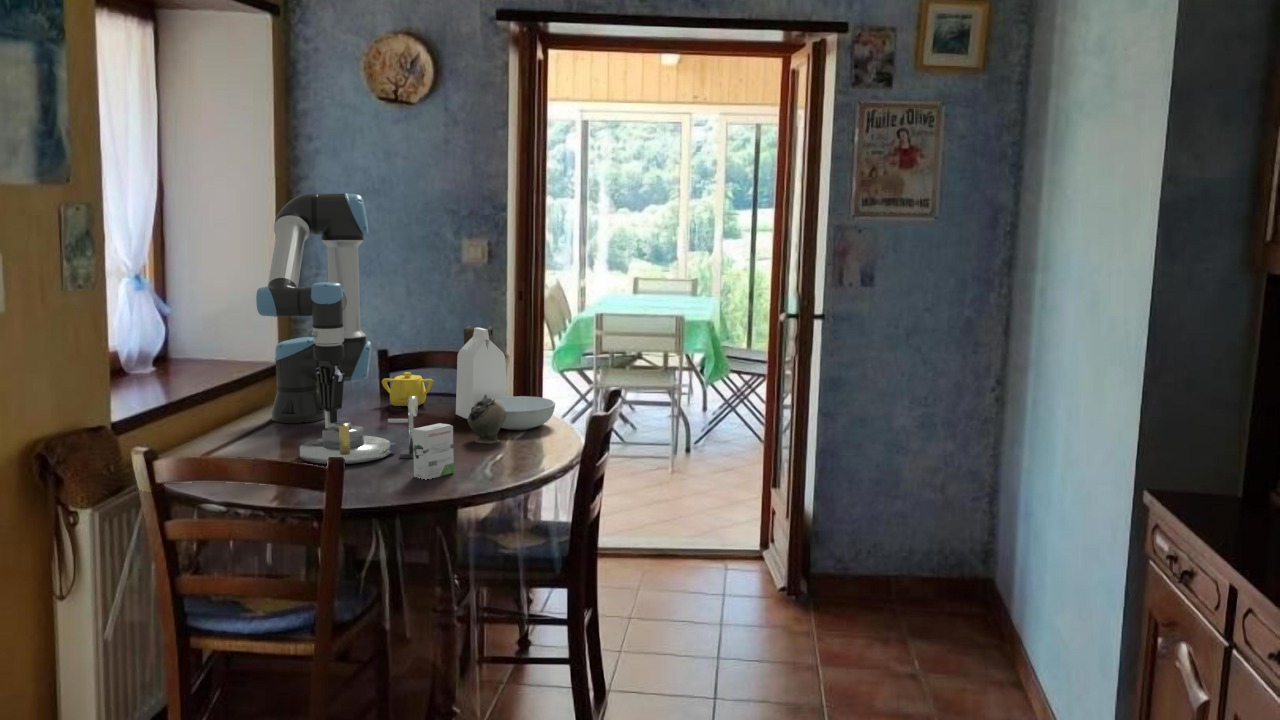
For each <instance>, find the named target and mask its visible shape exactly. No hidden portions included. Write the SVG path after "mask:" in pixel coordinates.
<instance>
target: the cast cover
mask: <svg viewBox="0 0 1280 720" xmlns="http://www.w3.org/2000/svg"><path fill="white" fill-rule="evenodd" d="M345 424H346V425H349V434H350V449H354V448H358V447H361V446H363V445H364V436H365V434H364V431H365V429H364V427H363V426H360V425H352V422H349V421H340V422H339V421H338V423H335V426H332V427H327V428H323V429H321V434H322V437H321V438H323V447H324V448H326V449H333V450H340V442H339V425H345Z"/></svg>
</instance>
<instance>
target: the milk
mask: <svg viewBox="0 0 1280 720" xmlns="http://www.w3.org/2000/svg"><path fill="white" fill-rule="evenodd" d="M473 328H474V333H473V337H472V338H471V339H470V340H469V341H468V342H467V343H466V344H465V345H464V344H463V346H462V347H461V348H460V349H459V351H458V353H457V356H456V358H457V360H456V364H457V365H456V369H457V370H456V393H455V394H456V396H455V397H456V398H455V399H456V400H455V415H457V416H459V417H461V418H463V419H466V420H467V419H468V417H469V415H470V413H471V408H472V407H474V406H475V404H476V403H477V402H478V401H481V400H482V399H483V398H484V396H485V394H486V396H487V398H492V399H495V398H502V397H509V395H508V381H507V379H508V378H507V365H506V363H507V361H506V356H505V353H504V352H503V351H502V350H501V349H500V348H499V347H498V346H497V345H496V344H495V342H494V343H492V342H491V341H490V340H489V335H488V330H487V329H483V328H484V327H482V328H477V327H473Z"/></svg>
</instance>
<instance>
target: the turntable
mask: <svg viewBox="0 0 1280 720" xmlns="http://www.w3.org/2000/svg"><path fill="white" fill-rule="evenodd" d="M339 442H340V450H333V449H326V448H324V447H323V438H322V437H321V438H317V439H312V440H310V441H306V442H304V443H302V444H301V445H300V446H299V456H300V458H301V459H302V460H303V461H306V462H310V463H315V464H323V465H324V464H325V465H327V464H326V463H327V459H328V458H329V457H343V458H344V459H345V463H346V464H348V465H349V464H358V463H364V462H370V461H376V460H379V459H382V458H384V457H387V456H389V455H390V454H391V452H396V442H391V441H390V440H388V439H386V438H383V437H379V436H371V435H364V445H363V446H361V447H358V448H354V449H350V434H349V425H346V424H345V425H339ZM346 464H345V465H346Z"/></svg>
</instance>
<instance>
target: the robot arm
mask: <svg viewBox="0 0 1280 720" xmlns="http://www.w3.org/2000/svg"><path fill="white" fill-rule="evenodd" d="M273 225H274V226H273V231H274V235H275V236H276V237H275V241H274V247H273V254H272V259H271V264H270V270H269V276H268V281H267V286H261V287H258V289H257V290H256V295H255V297H256V298H255V301H256V310H257V313H258V314H259V315H260V316H261V317H263V316H264V317H274V318H275V317H312V332H311V336H304V337H297V338H291V339H286V340H284V341H280V342H279V343H278V344H277V345H276V346H275V356H274V361H275V375H276V376H275V377H276V395H275V398H274V403H273V406H272V410H271V421H272V422H276V423H280V424H282V423H283V424H303V423H302V422H306V423H312V422H318V421H322V420H324V425H325V426H324V427H325V428H327V427H332V426H335V423H338V422H339V421H338V420H339V419H338V418H339V417H338V410H341V409H342V407H343V398H344V397H343V395H344V382H345V383H346V382H349V383H354V382H363V381H365V380H366V379H367V378H368V376H369V372H370V364H371V357H372V342H371V341H369V340H367V334H366V333H365V332H363V330H361V329H362V328H361V303H360V302H361V299H360V295H361V294H360V293H361V292H360V265H359V264H360V263H359V262H360V261H359V247H360V245H362V243H364V241H365V240H364V236H366V235H369V232H370V231H369V222H368V216H367V210H366V204H365V201H364V198H363V197H362V196H361V195H360V194H356V193H346V192H344V193H313V192H311V193H310V192H309V193H308V192H307V193H303V194H300V195H298V196H296V197H294V198H292V199H290V200H289V201H288V202H287V203H286V204H285V205H284V206H283V207H282V208H281V209H280V210H279V212H278V213H277V214H276V217H275V219H274V224H273ZM310 235H321V243H323V244H324V245H325V246H326V247H327V276H328V277H327V279H328V281H324V282H323V281H321V282H314V283H313V284H311V286H299V282H300V275H301V270H302V268H301V267H302V262H303V254H304V248H305V247H304V246H305V242H306V240H307V239H308V238H309V236H310ZM325 428H324V429H325Z"/></svg>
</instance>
